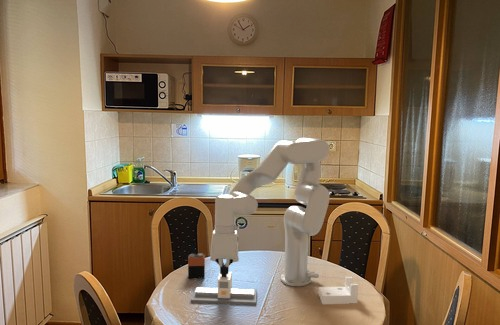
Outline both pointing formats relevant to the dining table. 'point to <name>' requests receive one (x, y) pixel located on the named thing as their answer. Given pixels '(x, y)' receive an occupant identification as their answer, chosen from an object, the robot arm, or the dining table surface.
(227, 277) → the block
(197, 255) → the battery
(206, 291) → the rail
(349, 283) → the bracket
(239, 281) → the dining table surface
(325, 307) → the dining table surface
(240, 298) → the mounting plate
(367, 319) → the dining table surface
